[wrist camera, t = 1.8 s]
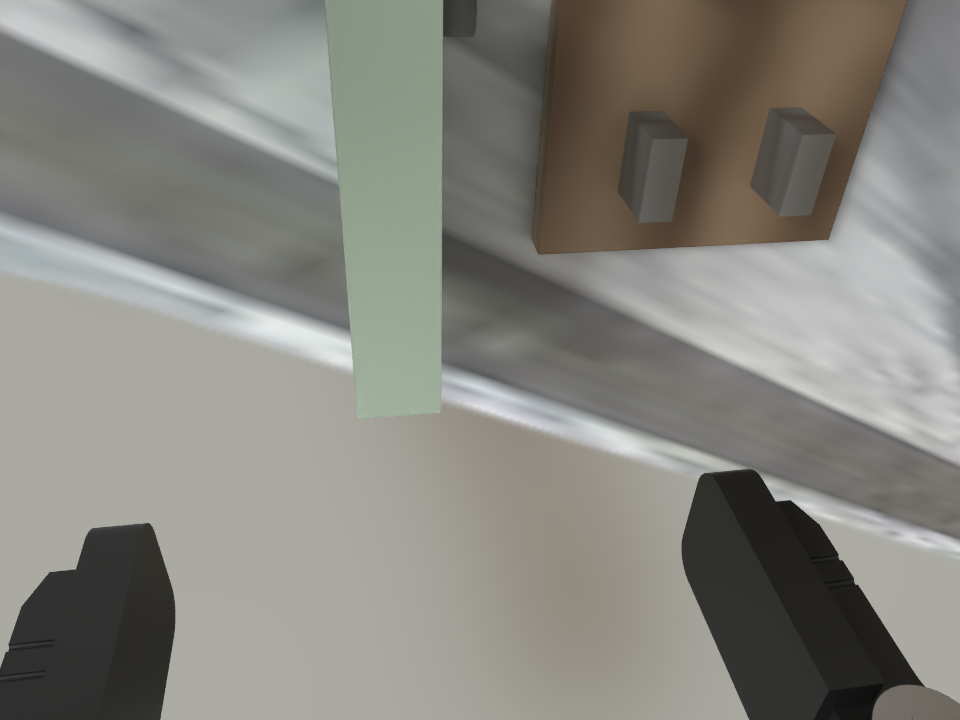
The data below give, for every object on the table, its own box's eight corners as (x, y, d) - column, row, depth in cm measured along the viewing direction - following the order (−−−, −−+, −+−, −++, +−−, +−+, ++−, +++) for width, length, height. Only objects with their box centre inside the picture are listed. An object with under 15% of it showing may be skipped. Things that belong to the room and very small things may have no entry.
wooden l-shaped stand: (531, 239, 32) (689, 605, 18) (581, -376, 21) (1060, -593, 7) (813, 225, 33) (1147, 550, 20) (995, -349, 23) (1991, -484, 9)
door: (347, 247, 31) (357, 418, 23) (320, -115, 24) (321, -44, 16) (435, 242, 31) (475, 410, 23) (435, -113, 24) (492, -43, 16)
